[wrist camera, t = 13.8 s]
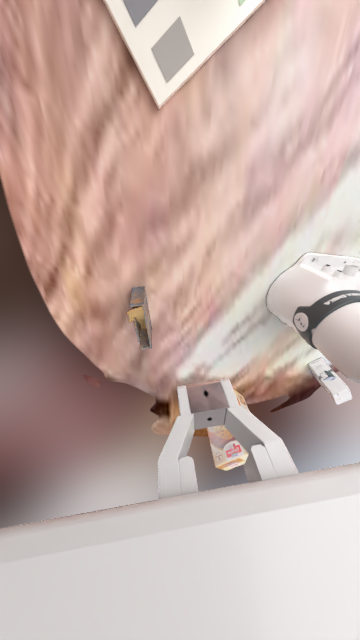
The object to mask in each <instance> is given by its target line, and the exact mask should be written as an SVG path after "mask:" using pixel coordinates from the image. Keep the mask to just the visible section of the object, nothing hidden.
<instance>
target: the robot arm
mask: <svg viewBox="0 0 360 640" xmlns="http://www.w3.org/2000/svg"><path fill="white" fill-rule="evenodd" d="M312 259H313V260H312ZM267 307H268V309H269V311H270V312H271V313H273V314H274V315H276V316H278V317H279V319H280V320H281V322H282V323H284V324H288V325H289V326H290V327H291V328H293V329H294V330H295V331H296V332H298V333H299V334H300V335H301V336H302V337H303V338H304V339H305V340H306V342H307V343H308V344H309V345H311V346H312V347H313V348H315V349H318V350H319V351H320V352H321V353H322V354H323V355H324V356H325V357H326V358H327V359H328V360H329V361H330V362H331V363H332V364H333V365H334V366H335V367H336V368H337V369H338V370H339V371H340V372H341V373H342V374H343V375H344V376H345V377H346V378H348V379H349V380H351V381H354V382H356V383H360V258H356V257H347V256H337V255H328V254H319V253H306V254H304V255H303V256H302V257H301V258H300V259H299V260H298V262H297V263H296V264H295V265H294V266H292V267H291V268H289V269H288V270H286V271H285V272H284V273H282V274H281V275H280V276H279V277H278V278H277V279H276V280H275V282H274V283H273V284H272V286H271V288H270V289H269V292H268V295H267ZM177 393H178V401H179V409H180V416H177V419H176V421H175V423H174V425H173V428H172V430H171V432H170V435H169V437H168V439H167V441H166V444H165V446H164V448H163V450H162V453H161V455H160V457H159V459H158V486H159V488H158V489H159V499H158V500H153V501H147V502H142V503H136V504H131V505H125V506H120V507H114V508H109V509H104V510H98V511H93V512H87V513H82V514H76V515H71V516H65V517H60V518H54V519H50V520H43V521H38V522H33V523H27V524H22V525H16V526H11V527H5V528H0V640H360V463H355V464H349V465H343V466H338V467H332V468H327V469H322V470H316V471H311V472H305V473H300V474H299V472H298V470H297V468H296V466H295V465H294V462H293V460H292V458H291V456H290V454H289V452H288V451H287V448H286V446H285V445H284V443H283V441H282V439H281V438H279V437H278V436H277V435H276V434H275V433H273V432H272V431H271V430H270V429H269V428H267V426H265V425H264V424H263V423H262V422H261V421H259V420H258V419H257V418H256V417H255V416H254V415H253V414H251V413H250V412H249V411H248V410H247V409H246V408H244V407H243V406H240V405H239V403H238V400H237V398H236V395H235V393H234V390H233V388H232V385H231V383H230V381H229V379H223V380H216V381H210V382H204V383H198V384H191V385H183V386H177ZM221 425H224V426H225V427H226V429H227V430H228V431H229V432H230V433H231V434H232V435H233V437H234V438H235V439H236V440H237V441H238V442H239V443H240V445H241V446H242V447H243V448H244V449H245V450H246V451H247V453H248V454H249V455H248V457H247V459H246V462H245V464H244V469H245V473H246V476H247V479H248V482H249V483H245V484H240V485H234V486H229V487H224V488H218V489H213V490H208V491H202V492H198V487H197V480H196V474H195V468H194V462H193V459H192V458H191V457H186V456H187V453H188V450H189V447H190V443H191V441H192V437H193V434H194V430H197V429H202V428H207V427H214V426H221Z"/></svg>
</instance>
